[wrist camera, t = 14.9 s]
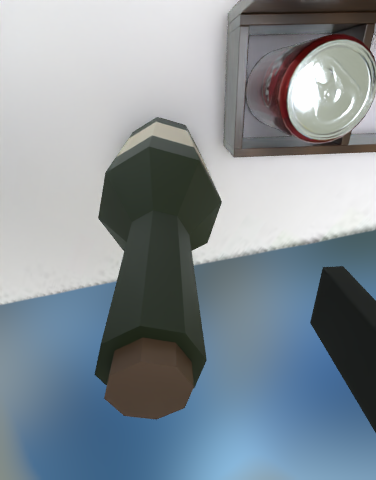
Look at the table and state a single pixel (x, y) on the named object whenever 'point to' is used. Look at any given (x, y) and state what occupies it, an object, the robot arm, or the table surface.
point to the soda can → (314, 87)
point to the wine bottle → (155, 270)
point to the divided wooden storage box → (288, 22)
